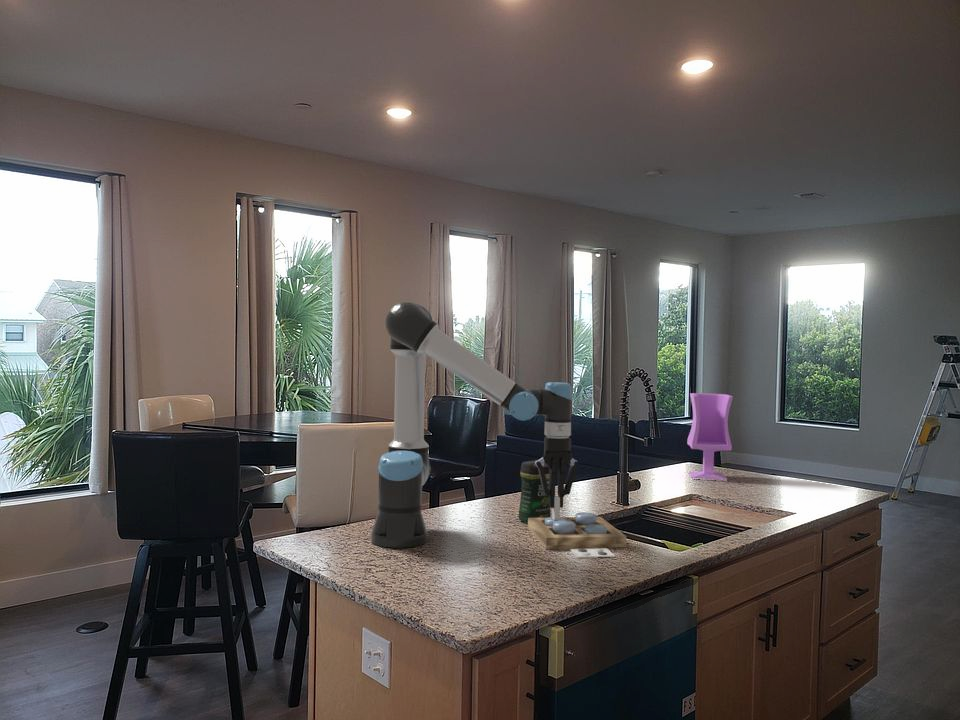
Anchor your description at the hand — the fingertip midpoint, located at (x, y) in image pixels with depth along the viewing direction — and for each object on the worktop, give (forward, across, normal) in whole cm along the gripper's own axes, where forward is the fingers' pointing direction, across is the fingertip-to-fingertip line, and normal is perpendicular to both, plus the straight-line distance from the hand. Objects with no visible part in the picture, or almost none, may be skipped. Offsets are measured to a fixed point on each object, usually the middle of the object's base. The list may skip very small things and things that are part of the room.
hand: (555, 518), depth 205 cm
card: (+4, +4, -20) cm, 21 cm away
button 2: (+2, 0, -9) cm, 9 cm away
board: (+4, +4, -4) cm, 8 cm away
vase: (+5, +88, +84) cm, 121 cm away
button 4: (+3, +9, -9) cm, 13 cm away
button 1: (+3, 0, 0) cm, 3 cm away
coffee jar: (+4, -3, +14) cm, 15 cm away
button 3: (+2, +9, 0) cm, 9 cm away
